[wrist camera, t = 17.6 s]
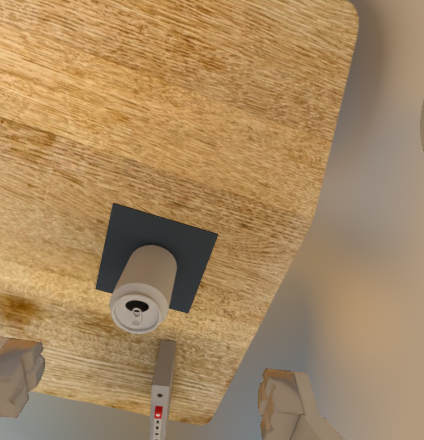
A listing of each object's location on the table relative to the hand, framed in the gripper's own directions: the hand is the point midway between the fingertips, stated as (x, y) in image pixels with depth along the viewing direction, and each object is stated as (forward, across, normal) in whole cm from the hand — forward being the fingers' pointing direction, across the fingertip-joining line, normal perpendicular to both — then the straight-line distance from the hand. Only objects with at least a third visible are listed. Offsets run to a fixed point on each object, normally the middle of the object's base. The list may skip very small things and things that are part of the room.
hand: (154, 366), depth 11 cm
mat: (+33, +6, +17) cm, 38 cm away
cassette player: (+33, +2, +41) cm, 53 cm away
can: (+33, +6, +17) cm, 37 cm away
